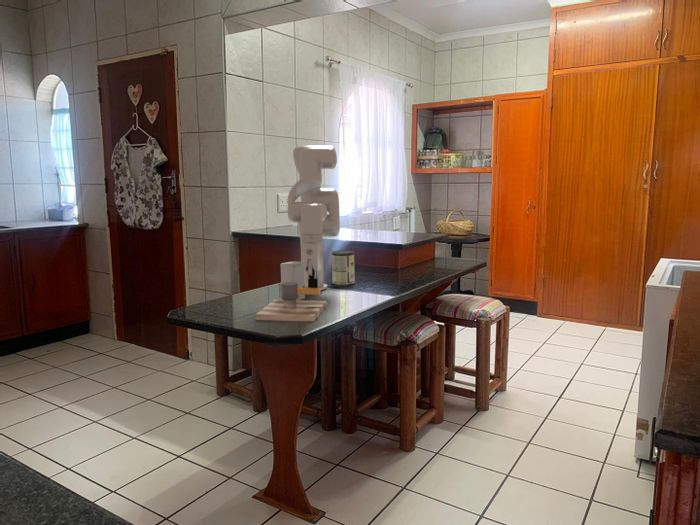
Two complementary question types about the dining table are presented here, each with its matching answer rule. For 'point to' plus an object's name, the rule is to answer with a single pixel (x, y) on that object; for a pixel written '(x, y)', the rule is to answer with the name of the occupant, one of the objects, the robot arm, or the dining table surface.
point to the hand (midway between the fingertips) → (313, 289)
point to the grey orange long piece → (296, 291)
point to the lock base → (292, 310)
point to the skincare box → (293, 274)
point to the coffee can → (343, 267)
